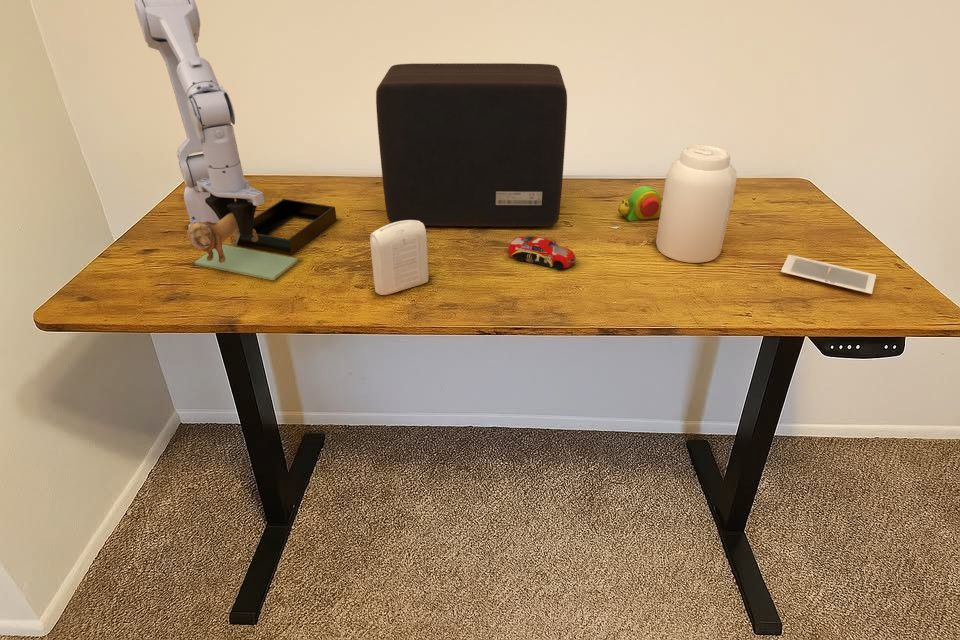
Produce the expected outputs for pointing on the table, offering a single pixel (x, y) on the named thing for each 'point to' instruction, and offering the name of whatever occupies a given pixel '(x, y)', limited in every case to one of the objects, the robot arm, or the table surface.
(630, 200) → the toy snail
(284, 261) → the sage mat
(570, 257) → the race car
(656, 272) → the table surface
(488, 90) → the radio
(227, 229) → the lion figurine
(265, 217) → the picture frame
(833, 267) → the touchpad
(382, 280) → the photo printer
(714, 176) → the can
